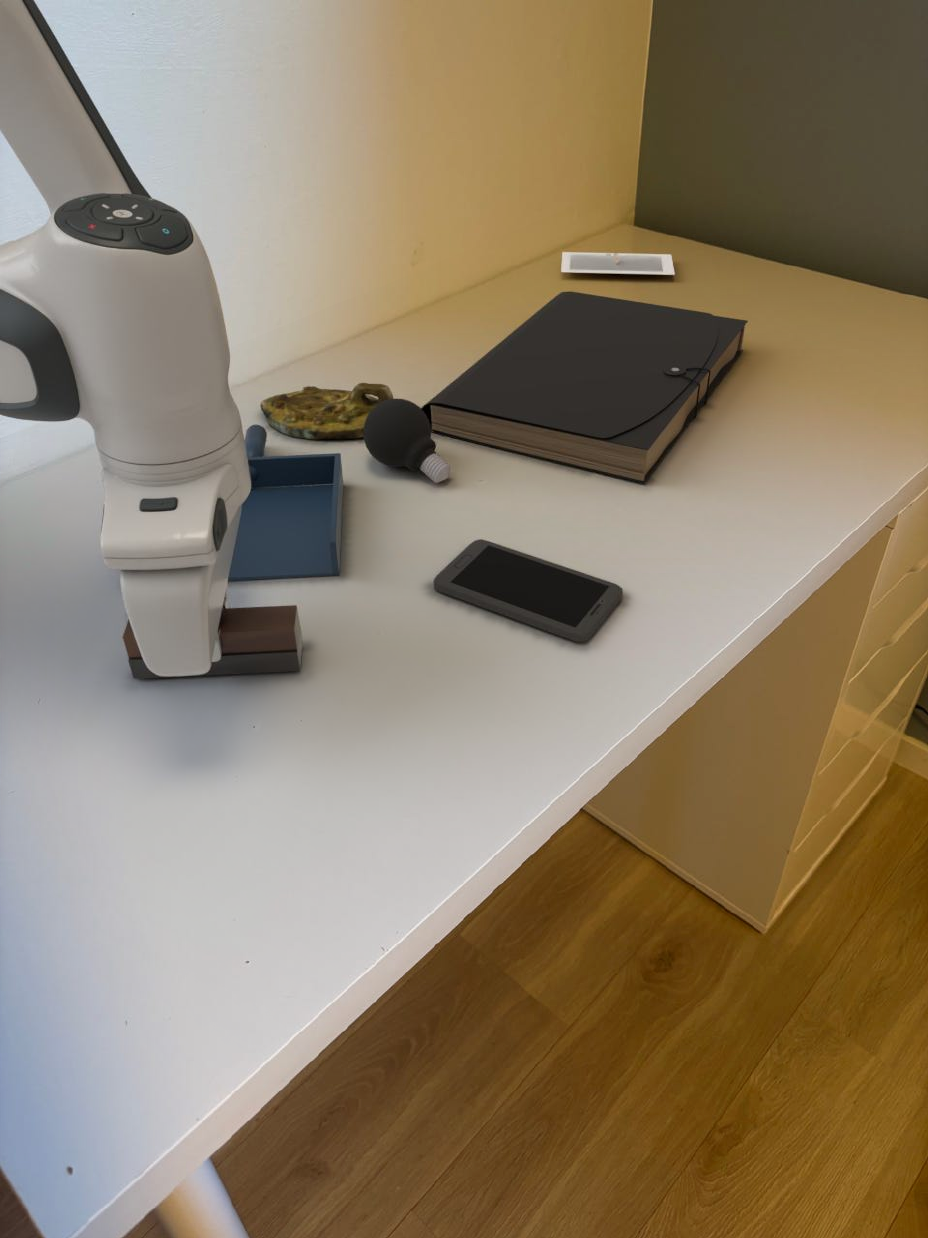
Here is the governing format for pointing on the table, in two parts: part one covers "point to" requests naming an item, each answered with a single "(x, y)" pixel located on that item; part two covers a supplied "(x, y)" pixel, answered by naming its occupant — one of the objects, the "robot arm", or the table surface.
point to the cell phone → (529, 589)
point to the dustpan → (289, 515)
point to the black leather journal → (592, 383)
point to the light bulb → (403, 438)
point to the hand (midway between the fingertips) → (214, 636)
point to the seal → (324, 411)
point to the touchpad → (617, 263)
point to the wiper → (243, 642)
